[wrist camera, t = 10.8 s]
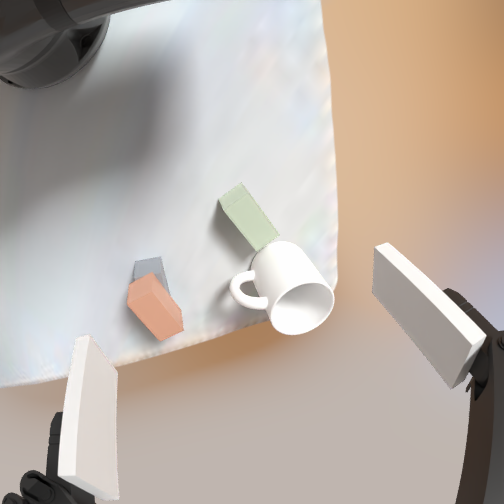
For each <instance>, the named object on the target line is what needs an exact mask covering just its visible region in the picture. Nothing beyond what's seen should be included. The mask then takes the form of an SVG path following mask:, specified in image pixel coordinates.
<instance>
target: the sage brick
mask: <svg viewBox="0 0 504 504" xmlns="http://www.w3.org/2000/svg"><path fill="white" fill-rule="evenodd" d="M219 202H220V204H221V206H222V208H223V210H224V212H225V213H226V214H227V216H228V217H229V218H230V219H231V221H232V222H233V223H234V224H235V225H236V227H237V228H238V229H239V230H240V232H241V233H242V234H243V235H244V237H245V238H246V239H247V240H248V242H249V243H250V244H251V245H252V247H253V248H254V249H255V250H256V252H257V251H258V250H260V249H261V248H263V247H264V246H265V245H267V244H268V243H270V242H271V241H272V240H274V239H275V238H277V237H278V236H279V233H278V232H277V230H276V229H275V228H274V226H273V225H272V223H271V222H270V221H269V219H268V218H267V216H266V215H265V214H264V212H263V211H262V210H261V208H260V207H259V205H258V204H257V203H256V201H255V200H254V199H253V197H252V196H251V194H250V193H249V192H248V190H247V189H246V188H245V186H244V185H243V184H242V182H241V183H240V184H238V185H237V186H236V187H234V188H233V189H231V190H230V191H229V192H227V193H226V194H225V195H223V196H222V197H221V198H219Z"/></svg>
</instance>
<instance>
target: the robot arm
mask: <svg viewBox="0 0 504 504" xmlns="http://www.w3.org/2000/svg"><path fill="white" fill-rule="evenodd" d="M164 1H169V0H0V79H1V80H2V81H4V82H5V83H7V84H9V85H11V86H14V87H17V88H22V89H36V88H44V87H49V86H52V85H55V84H58V83H60V82H62V81H64V80H66V79H68V78H69V77H71V76H72V75H74V74H75V73H76V72H78V71H79V70H80V69H81V68H82V67H83V66H85V64H86V63H87V62H88V61H89V60H90V59H91V58H92V57H93V55H94V54H95V53H96V51H97V50H98V48H99V47H100V45H101V43H102V41H103V39H104V37H105V35H106V32H107V29H108V26H109V21H110V15H111V14H115V13H118V12H122V11H125V10H129V9H133V8H137V7H141V6H145V5H150V4H154V3H159V2H164ZM372 293H373V294H374V296H375V297H376V298H377V299H378V300H379V301H380V303H381V304H382V305H383V306H384V307H385V308H386V310H387V311H388V312H389V313H390V314H391V315H392V317H393V318H394V319H395V320H396V321H397V323H398V324H399V325H400V326H401V327H402V329H403V330H404V331H405V332H406V334H407V335H408V336H409V337H410V338H411V340H412V341H413V342H414V343H415V345H416V346H417V347H418V348H419V350H420V351H421V352H422V353H423V355H424V356H425V357H426V358H427V360H428V361H429V362H430V363H431V365H432V366H433V367H434V368H435V370H436V371H437V372H438V373H439V375H440V376H441V377H442V379H443V380H444V381H445V383H446V384H447V385H448V386H449V388H450V389H452V388H454V387H456V386H457V385H458V384H460V383H461V382H463V381H464V380H465V378H466V376H467V375H468V373H469V372H470V373H471V375H472V376H473V377H472V379H471V381H470V382H469V384H468V386H467V387H466V392H468V390H469V389H470V387H471V398H470V413H469V424H468V434H467V442H466V450H465V457H464V463H463V469H462V475H461V480H460V485H459V490H458V494H457V499H456V503H455V504H504V331H498V330H496V329H495V328H494V327H493V326H492V325H491V324H490V323H489V322H488V321H487V320H486V319H485V318H484V317H483V316H482V315H481V314H480V313H479V312H478V311H477V310H476V309H475V308H473V306H472V305H471V304H470V303H468V302H467V300H466V299H465V298H464V297H463V296H461V295H460V294H459V293H458V292H456V291H454V290H452V289H449V288H447V289H445V290H443V291H441V290H440V289H439V288H438V287H437V286H436V285H435V284H434V283H433V282H432V281H431V280H430V279H428V277H426V276H425V275H424V274H423V273H422V272H421V271H420V270H419V269H418V268H416V267H415V266H414V265H413V264H412V263H411V262H410V261H408V260H407V259H406V258H405V257H404V256H403V255H402V254H401V253H399V252H398V251H397V250H396V249H395V248H394V247H393V246H392V245H390V244H389V243H388V242H387V243H384V244H381V245H379V246H376V247H374V270H373V288H372ZM117 377H118V372H117V371H116V369H115V368H114V367H113V365H112V364H111V363H110V361H109V360H108V359H107V357H106V356H105V355H104V353H103V352H102V350H101V349H100V348H99V346H98V345H97V343H96V342H95V340H94V339H93V338H92V336H91V335H90V334H88V335H85V336H81V337H77V338H76V341H75V346H74V350H73V355H72V360H71V366H70V371H69V377H68V383H67V389H66V395H65V402H64V410H63V412H57V413H56V414H55V416H54V418H53V420H52V422H51V428H50V437H49V446H48V455H47V467H46V476H45V475H43V474H42V473H40V472H38V471H35V470H31V471H28V472H27V473H25V474H24V476H23V477H22V479H21V482H20V491H21V494H22V496H23V497H21V496H19V495H18V494H15V493H8V494H7V495H6V496H5V497H4V499H3V501H2V504H96V503H95V498H94V496H95V497H97V498H99V499H101V500H119V486H118V470H117V437H116V436H117V432H116V418H117V417H116V415H117V413H116V412H117V379H118V378H117Z"/></svg>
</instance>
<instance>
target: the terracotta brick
mask: <svg viewBox="0 0 504 504" xmlns="http://www.w3.org/2000/svg"><path fill="white" fill-rule="evenodd" d="M127 305H128V306H129V308H130V309H131V310H132V311H133V312H134V313H135V314H136V316H137V317H138V318H139V319H140V320H141V321H142V322H143V323H144V325H145V326H146V327H147V328H148V329H149V330H150V331H151V332H152V333H153V334H154V336H155V337H156V338H157V339H158V340H159V341H162V340H165V339H167V338H169V337H171V336H173V335H175V334H177V333H179V332H182V331H184V329H183V321H182V313H181V309H180V308H179V307H178V305H177V304H176V303H175V301H174V300H173V299H172V297H171V296H170V295H169V294H168V292H167V291H166V290H165V288H164V287H163V286H162V284H161V283H160V282H159V280H158V279H157V278H156V276H155V275H154V273H153V272H151V273H149V274H147V275H145V276H143V277H142V278H140V279H138V280H136V281H134V282H132V283H130V284H129V289H128V298H127Z"/></svg>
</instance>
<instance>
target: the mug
mask: <svg viewBox="0 0 504 504" xmlns="http://www.w3.org/2000/svg"><path fill="white" fill-rule="evenodd" d="M248 281H253V283H254V285H255V288H256V290H257V292H258V294H259V297H250V296H248V295H245V294H244V293H243V292H242V291H241V290H240V285H241V284H242V283H244V282H248ZM229 289H230V293H231V296H232V297H233V299H234V300H235V301H236V302H237V303H239V304H240V305H242V306H244V307H247V308H250V309H256V310H266V312H267V315H268V317H269V319H270V321H271V324H272V326H273V327H274V328H275V329H276V330H277V331H279V332H280V333H283V334H287V335H298V334H302V333H306V332H308V331H311V330H312V329H314V328H316V327H317V326H319V325H320V324H321V323H322V322H323V321H324V320H325V319H326V318H327V317H328V316H329V314H330V313H331V310H332V308H333V305H334V294H333V291H332V289H331V288H330V287H329V285H328V284H327V283H326V281H325V280H324V279H323V277H322V276H321V275H320V273H319V272H318V271H317V269H316V268H315V267H314V265H313V264H312V263H311V261H310V260H309V259H308V257H307V256H306V255H305V253H304V252H303V251H302V250H301V249H300V248H299V247H298V246H296V245H295V244H293V243H290V242H283V241H281V242H275V243H271V244H269V245H267V246H265V247H264V248H262V249H261V250H260V251H259V252H258V253H257V254H256V256H255V257H254V259H253V261H252V264H251V271H245V272H242V273H239V274H237V275H236V276H235V277H234V278H233V279H232V280H231V282H230V286H229Z"/></svg>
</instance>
